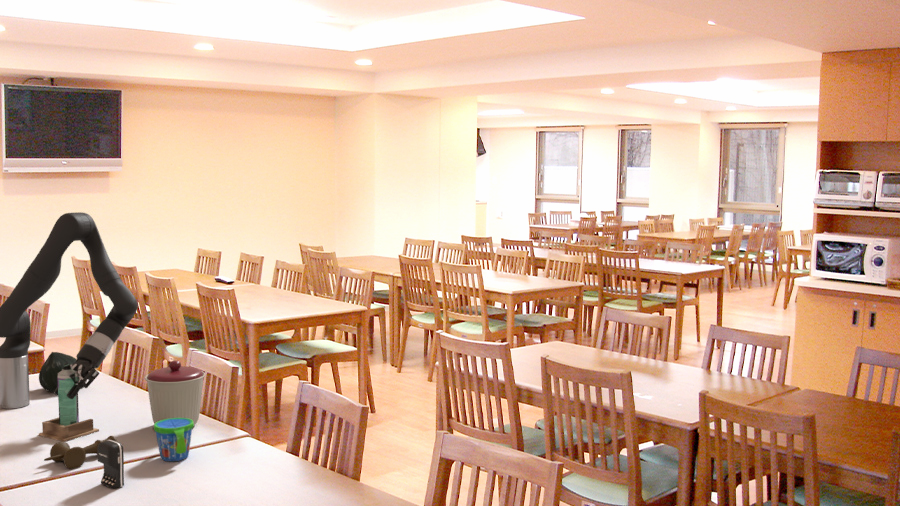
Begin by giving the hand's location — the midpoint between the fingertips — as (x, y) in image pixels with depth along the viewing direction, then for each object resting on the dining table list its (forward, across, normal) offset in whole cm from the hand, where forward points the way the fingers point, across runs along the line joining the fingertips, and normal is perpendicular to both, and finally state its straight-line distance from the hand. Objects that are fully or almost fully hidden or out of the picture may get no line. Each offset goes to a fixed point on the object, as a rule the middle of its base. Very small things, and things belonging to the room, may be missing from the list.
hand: (63, 396), depth 249 cm
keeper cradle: (+7, 0, +10) cm, 12 cm away
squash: (-14, -46, +32) cm, 58 cm away
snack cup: (+7, +44, +10) cm, 46 cm away
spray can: (+6, 0, +9) cm, 11 cm away
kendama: (+17, +24, 0) cm, 29 cm away
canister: (-8, +22, +25) cm, 35 cm away
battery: (+23, +46, -6) cm, 52 cm away
